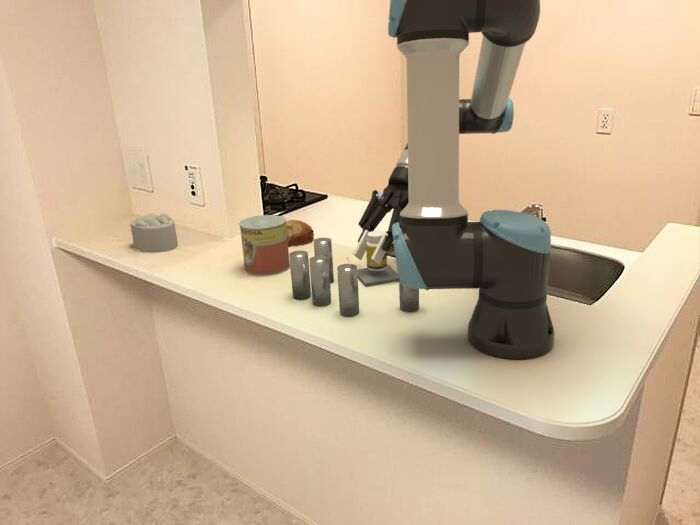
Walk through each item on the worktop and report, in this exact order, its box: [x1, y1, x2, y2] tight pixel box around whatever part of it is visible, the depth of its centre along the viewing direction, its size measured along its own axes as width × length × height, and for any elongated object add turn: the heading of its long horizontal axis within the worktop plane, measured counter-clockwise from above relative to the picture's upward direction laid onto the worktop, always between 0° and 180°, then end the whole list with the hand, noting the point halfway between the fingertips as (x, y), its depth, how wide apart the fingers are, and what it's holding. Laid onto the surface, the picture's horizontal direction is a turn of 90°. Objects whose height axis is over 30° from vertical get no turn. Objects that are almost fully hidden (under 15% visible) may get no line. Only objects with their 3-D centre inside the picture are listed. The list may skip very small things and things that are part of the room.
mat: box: [357, 264, 399, 288], centre depth 140 cm, size 9×9×1 cm
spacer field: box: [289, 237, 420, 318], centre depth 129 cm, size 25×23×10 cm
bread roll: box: [286, 219, 315, 248], centre depth 167 cm, size 10×10×8 cm
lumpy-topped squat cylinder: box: [129, 213, 179, 254], centre depth 168 cm, size 10×13×9 cm
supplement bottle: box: [365, 230, 388, 271], centre depth 138 cm, size 5×5×8 cm
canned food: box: [238, 214, 291, 277], centre depth 147 cm, size 11×11×12 cm
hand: (366, 259), depth 136 cm, fingers closed on supplement bottle, 5 cm apart
